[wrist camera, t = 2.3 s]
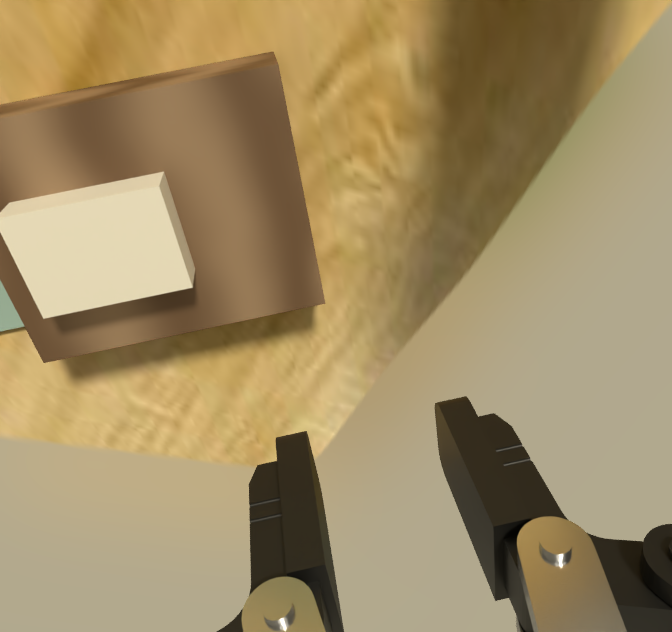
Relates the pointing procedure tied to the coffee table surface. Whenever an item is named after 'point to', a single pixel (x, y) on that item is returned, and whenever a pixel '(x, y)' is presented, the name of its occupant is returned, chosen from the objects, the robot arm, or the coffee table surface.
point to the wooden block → (186, 189)
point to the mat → (8, 312)
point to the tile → (99, 245)
